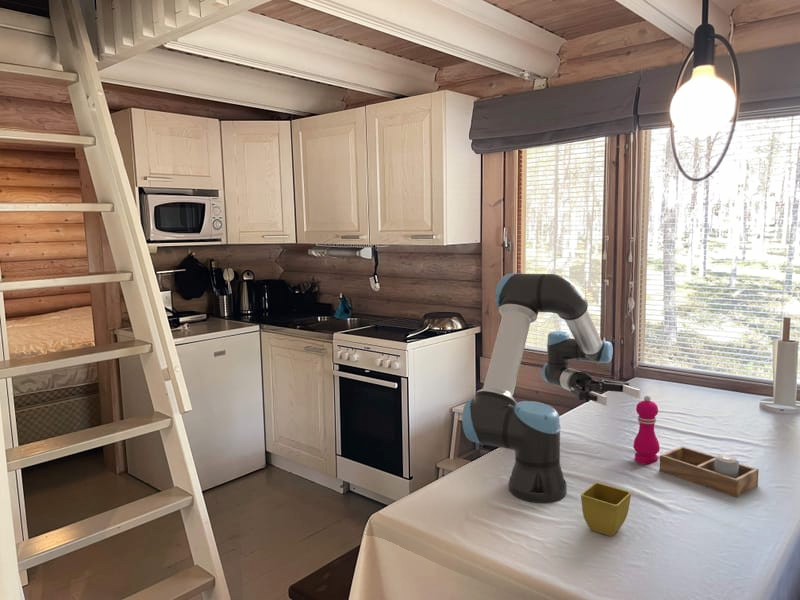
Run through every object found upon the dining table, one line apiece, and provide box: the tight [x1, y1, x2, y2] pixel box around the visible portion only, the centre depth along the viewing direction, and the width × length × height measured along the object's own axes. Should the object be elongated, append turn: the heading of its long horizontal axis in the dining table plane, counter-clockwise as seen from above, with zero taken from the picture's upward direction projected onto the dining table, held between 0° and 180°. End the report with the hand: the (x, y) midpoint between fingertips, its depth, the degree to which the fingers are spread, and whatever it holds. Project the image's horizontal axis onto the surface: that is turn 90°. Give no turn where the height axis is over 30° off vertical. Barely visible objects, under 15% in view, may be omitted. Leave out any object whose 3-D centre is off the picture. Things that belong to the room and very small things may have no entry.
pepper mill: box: [632, 395, 661, 466], centre depth 177 cm, size 7×7×20 cm
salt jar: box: [714, 454, 740, 479], centre depth 158 cm, size 6×6×7 cm
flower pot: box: [580, 482, 632, 537], centre depth 139 cm, size 9×9×9 cm
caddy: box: [658, 446, 759, 498], centre depth 162 cm, size 11×21×6 cm, turn 34°
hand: (623, 397), depth 185 cm, fingers open, 13 cm apart
